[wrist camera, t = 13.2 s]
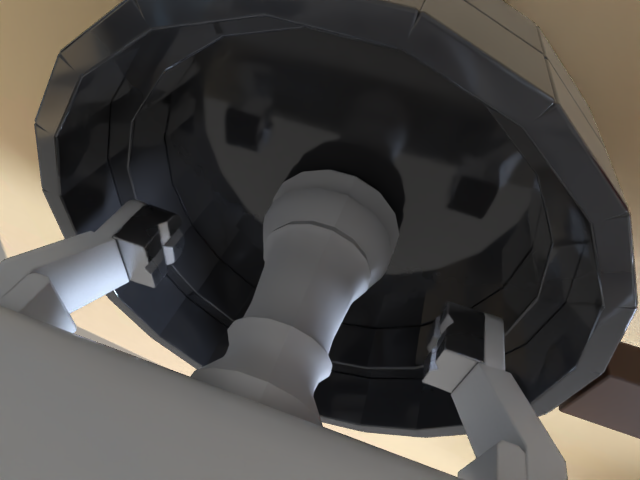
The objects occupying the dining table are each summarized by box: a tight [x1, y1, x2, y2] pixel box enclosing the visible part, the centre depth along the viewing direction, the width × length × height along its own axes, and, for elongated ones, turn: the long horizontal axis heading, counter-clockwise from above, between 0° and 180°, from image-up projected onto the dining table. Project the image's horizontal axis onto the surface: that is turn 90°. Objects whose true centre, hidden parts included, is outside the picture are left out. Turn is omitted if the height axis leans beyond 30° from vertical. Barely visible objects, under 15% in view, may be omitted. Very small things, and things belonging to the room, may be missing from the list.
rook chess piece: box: [190, 170, 399, 427], centre depth 11 cm, size 4×4×8 cm
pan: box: [34, 0, 638, 438], centre depth 13 cm, size 15×15×4 cm
